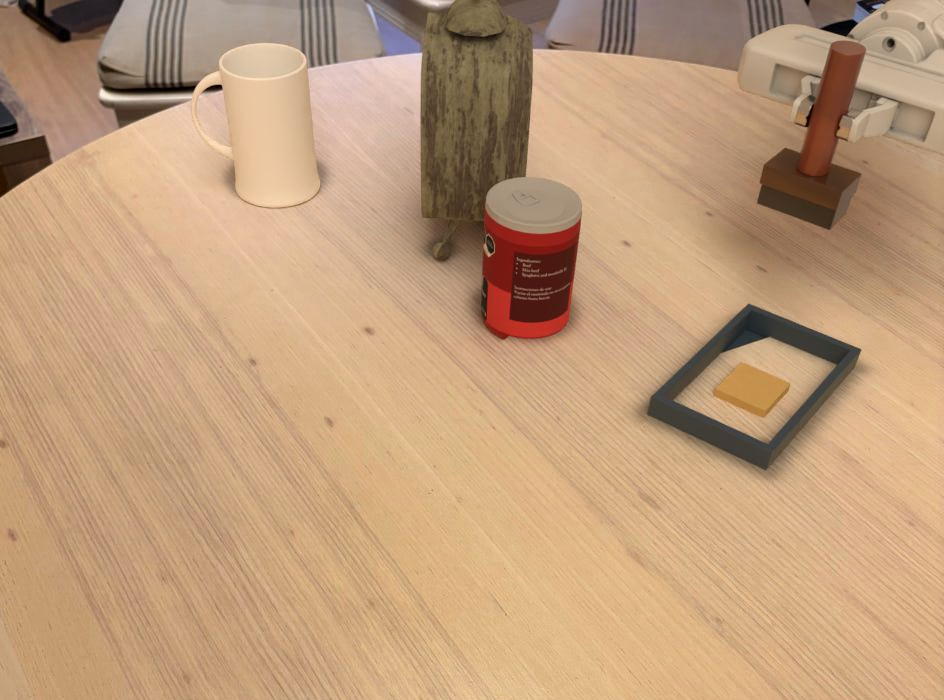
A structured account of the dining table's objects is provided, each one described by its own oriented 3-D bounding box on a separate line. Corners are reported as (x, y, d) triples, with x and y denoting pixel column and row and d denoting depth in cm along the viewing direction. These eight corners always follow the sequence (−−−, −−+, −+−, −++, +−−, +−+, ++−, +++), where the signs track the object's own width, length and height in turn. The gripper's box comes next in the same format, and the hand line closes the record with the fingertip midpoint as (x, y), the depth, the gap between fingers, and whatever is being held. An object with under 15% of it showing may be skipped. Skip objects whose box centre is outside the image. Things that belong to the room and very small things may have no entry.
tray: (740, 330, 90) (748, 302, 87) (851, 377, 86) (862, 349, 84) (644, 425, 81) (650, 396, 79) (762, 480, 77) (772, 452, 75)
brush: (774, 187, 86) (816, 27, 77) (848, 213, 84) (902, 51, 74) (753, 204, 84) (794, 43, 75) (829, 232, 82) (881, 68, 72)
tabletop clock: (430, 191, 103) (430, -103, 84) (519, 195, 103) (539, -98, 84) (421, 270, 94) (419, -39, 75) (518, 274, 94) (542, -34, 75)
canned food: (510, 284, 93) (518, 166, 85) (585, 315, 90) (601, 196, 82) (462, 323, 89) (465, 203, 81) (538, 357, 86) (550, 236, 78)
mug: (193, 200, 101) (168, 72, 92) (219, 159, 106) (198, 34, 97) (308, 212, 100) (296, 84, 91) (329, 170, 106) (319, 45, 96)
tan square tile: (738, 371, 85) (741, 361, 84) (787, 392, 83) (791, 382, 82) (712, 398, 82) (715, 387, 82) (762, 420, 81) (766, 410, 80)
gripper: (791, -10, 86) (712, 41, 79) (1031, 57, 79) (967, 120, 72) (771, 69, 91) (695, 124, 84) (996, 139, 84) (933, 205, 77)
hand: (823, 123), depth 78 cm, fingers closed on brush, 2 cm apart
